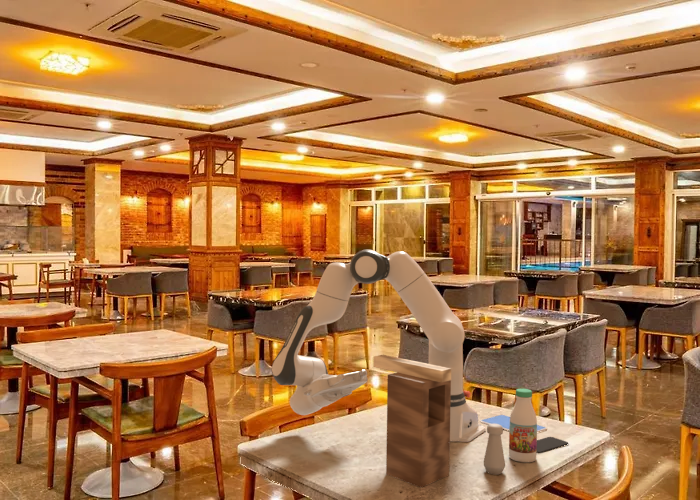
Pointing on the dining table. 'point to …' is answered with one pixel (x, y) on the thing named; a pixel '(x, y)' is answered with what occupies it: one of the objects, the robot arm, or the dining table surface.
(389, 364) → the pine bar
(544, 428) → the tablet computer
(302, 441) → the dining table surface
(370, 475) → the dining table surface
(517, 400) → the milk bottle
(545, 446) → the phone
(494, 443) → the salt shaker
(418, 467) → the walnut cabinet
